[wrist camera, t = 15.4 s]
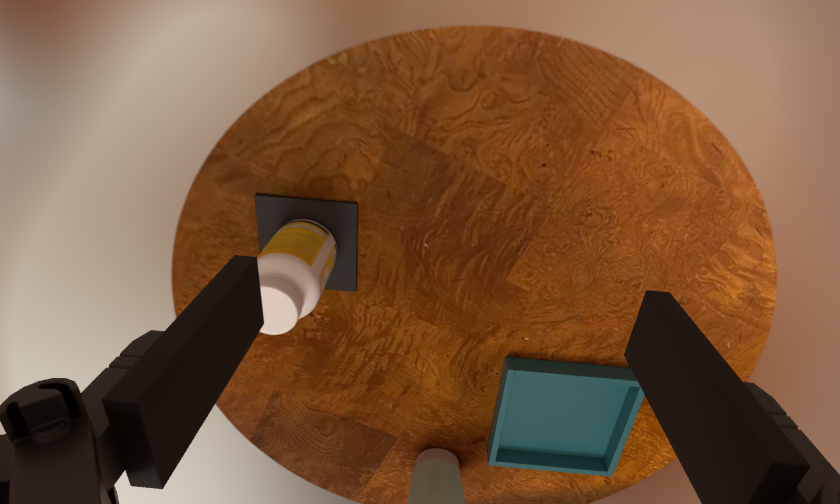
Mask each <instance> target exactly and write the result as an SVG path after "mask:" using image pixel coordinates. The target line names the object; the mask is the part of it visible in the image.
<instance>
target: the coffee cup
mask: <svg viewBox="0 0 840 504" xmlns="http://www.w3.org/2000/svg"><path fill="white" fill-rule="evenodd" d="M407 504H465V499H464V492H463V486H462V480H461V474H460V468H459V462H458V459H457V457H456V456H455V455H454V454H453V453H451V452H450V451H447V450H445V449H439V448H433V449H428V450H425V451H423V452H421V453H420V454H419V455H418V456H417V458H416V460H415V465H414V470H413V475H412V480H411V485H410V490H409V495H408V500H407Z"/></svg>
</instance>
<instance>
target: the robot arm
mask: <svg viewBox="0 0 840 504" xmlns="http://www.w3.org/2000/svg"><path fill="white" fill-rule="evenodd" d="M263 325H264V315H263V306H262V297H261V288H260V279H259V270H258V261H257V257H250V256H239V255H234V257H233V258H232V259H231V260H230V261H229V262H228V263H227V264H226V265H225V266H224V267H223V268H222V270H221V271H220V272H219V273H218V274H217V275H216V276H215V277H214V278H213V279H212V280H211V282H210V283H209V284H208V285H207V286H206V287H205V288H204V289H203V290H202V291H201V292H200V293H199V295H198V296H197V297H196V298H195V299H194V300H193V301H192V302H191V303H190V304H189V305H188V306H187V308H186V309H185V310H184V311H183V312H182V313H181V314H180V315H179V316H178V317H177V318H176V319H175V321H174V322H173V323H172V324H171V325H170V326H169V327H168V328H167V329H166V330H165V331H154V330H151V331H149V332H147V333H146V334H144V335H142V336H141V337H139V338H137V339H135V340H134V341H132V342H131V343H130V344H129V345H128V346H127V347H126V348H125V349H124V350H123V351H122V352H121V353H120V356H119V357H116V358H115V359H114V361H112V362H111V364H109V368H106V369H105V370H104V371H102V372H101V374H99V376H98V377H96V379H95V380H94V381H93V382H92V383H91V384H90V385H89V386H88V387H87V388H86V389H85V390H84V391H83V392H82V393H80V391H79V388H78V386H77V384H76V383H75V381H72V380H69V379H66V378H51V379H47V380H42V381H38V382H36V383H33V384H31V385H28V386H25V387H23V388H22V389H20V390H18V391H17V392H15V393H13V394H12V395H10V396H9V397H8V398H7V399H6V400H5V401H4V402H3V403H2V404H1V405H0V422H1V424H2V426H3V428H4V429H5V432H6V434H4V435H0V504H119V501H118V495H117V491H116V489H115V486H114V484H115V483H116V482H117V480H118V479H119V478H120V476H121V475H122V473H123V472H124V471H125V470H126V473H127V476H128V479H129V482H130V485H131V486H137V487H146V488H156V489H157V488H158V489H163V488H164V486H165V484H166V483H167V481H168V480H169V478H170V476H171V475H172V473H173V471H174V470H175V468H176V467H177V465H178V463H179V462H180V460H181V458H182V457H183V455H184V453H185V452H186V450H187V449H188V447H189V445H190V444H191V442H192V440H193V439H194V437H195V436H196V434H197V432H198V431H199V429H200V427H201V426H202V424H203V423H204V421H205V419H206V418H207V416H208V414H209V413H210V411H211V410H212V408H213V406H214V405H215V403H216V401H217V400H218V398H219V397H220V395H221V393H222V392H223V390H224V388H225V387H226V385H227V383H228V382H229V380H230V379H231V377H232V375H233V374H234V372H235V370H236V369H237V367H238V366H239V364H240V362H241V361H242V359H243V357H244V356H245V354H246V353H247V351H248V349H249V348H250V346H251V344H252V343H253V341H254V340H255V338H256V336H257V335H258V333H259V331H260V330H261V328H262V326H263ZM624 356H625V358H626V360H627V362H628V364H629V366H630V368H631V370H632V372H633V373H634V375H635V377H636V379H637V381H638V383H639V385H640V387H641V389H642V391H643V393H644V394H645V396H646V398H647V400H648V402H649V404H650V406H651V408H652V410H653V412H654V413H655V415H656V417H657V419H658V421H659V423H660V425H661V427H662V429H663V431H664V432H665V434H666V436H667V438H668V440H669V442H670V444H671V446H672V448H673V450H674V452H675V453H676V455H677V457H678V459H679V461H680V463H681V465H682V467H683V468H684V471H685V472H686V474H687V476H688V478H689V480H690V482H691V484H692V485H693V488H694V489H695V492H696V493H697V495H698V497H699V499H700V501H701V503H702V504H840V475H839V474H838V472H837V471H836V470H835V469H834V468H833V467H832V466H831V464H830V463H829V462H828V461H827V460H826V459H825V457H824V456H823V455H822V454H821V453H820V452H819V450H818V449H817V448H816V447H815V446H814V445H813V443H812V442H811V441H810V440H809V439H808V438H807V436H806V435H805V434H804V433H803V432H802V431H801V430H798V426H797V425H796V424H795V423H794V421H793V420H792V419H791V418H790V417H789V416H786V412H785V411H784V410H783V409H782V408H781V406H780V405H779V404H778V403H777V402H776V401H775V399H774V398H773V397H772V396H770V395H769V394H767V393H766V392H765V391H763V390H762V389H761V388H759V387H758V386H757V385H755V384H754V383H749V382H742V381H741V379H740V378H739V377H738V376H737V375H736V373H735V372H734V371H733V370H732V368H731V367H730V366H729V365H728V363H727V362H726V361H725V360H724V359H723V357H722V356H721V355H720V354H719V352H718V351H717V350H716V349H715V348H714V346H713V345H712V344H711V343H710V341H709V340H708V339H707V338H706V337H705V335H704V334H703V333H702V332H701V330H700V329H699V328H698V327H697V326H696V324H695V323H694V322H693V321H692V319H691V318H690V317H689V316H688V314H687V313H686V312H685V311H684V310H683V308H682V307H681V306H680V305H679V303H678V302H677V301H676V300H675V299H674V297H673V296H672V295H671V294H670V292H660V291H648V290H646V292H645V295H644V298H643V301H642V304H641V307H640V310H639V313H638V316H637V319H636V322H635V325H634V327H633V330H632V333H631V336H630V339H629V342H628V345H627V348H626V351H625V354H624Z"/></svg>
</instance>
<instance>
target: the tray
mask: <svg viewBox="0 0 840 504" xmlns="http://www.w3.org/2000/svg"><path fill="white" fill-rule="evenodd" d="M644 396H645V394H644V393H643V391H642V389H641V387H640V385H639V383H638V381H637V379H636V377H635V375H634V373H633V372H632V370H631V368H627V367H615V366H604V365H593V364H582V363H571V362H559V361H548V360H537V359H526V358H514V357H506V358H505V363H504V368H503V373H502V378H501V383H500V388H499V393H498V397H497V402H496V407H495V412H494V417H493V422H492V427H491V432H490V437H489V442H488V447H487V457H488V465H492V466H494V465H495V466H502V467H513V468H524V469H535V470H546V471H557V472H568V473H579V474H590V475H601V476H611V477H612V476H613V473H614V471H615V468H616V466H617V463H618V461H619V458H620V456H621V453H622V451H623V448H624V446H625V443H626V441H627V438H628V436H629V433H630V431H631V428H632V426H633V423H634V421H635V418H636V416H637V413H638V411H639V408H640V406H641V403H642V401H643V398H644Z"/></svg>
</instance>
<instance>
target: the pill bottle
mask: <svg viewBox="0 0 840 504" xmlns="http://www.w3.org/2000/svg"><path fill="white" fill-rule="evenodd" d="M336 258H337V245H336V242H335V239H334V237H333V236H332V234H331V233H330V232H329V231H328V230H327V229H326V228H325V227H324V226H322V225H321V224H319V223H317V222H314V221H311V220H305V219H299V220H293V221H290V222H288V223H286V224H285V225H283V226H282V227H281V228H280V229H279V230H278V231H277V233H276V234H275V235H274V236H273V238H272V239H271V240H270V241H269V243H268V244H267V245H266V247H265V248H264V249H263V250H262V252H261V253H260V254H259V256H258V257H257V261H258V270H259V279H260V288H261V297H262V306H263V315H264V325H263V326H262V328H261V330H260V331H259V332H262V333H265V334H271V335H277V334H282V333H285V332H287V331H289V330H290V329H292V328H293V327H294V325H295V324H296V322H297V320H298V319H299V318H302V317H304V316H306V315H307V314H308V313H310V312H311V311H312V310H313V309H314V307H315V306H316V304H317V302H318V300H319V298H320V296H321V294H322V292H323V289H324V287H325V285H326V282H327V280H328V278H329V275H330V273H331V271H332V269H333V267H334V264H335V262H336Z"/></svg>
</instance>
